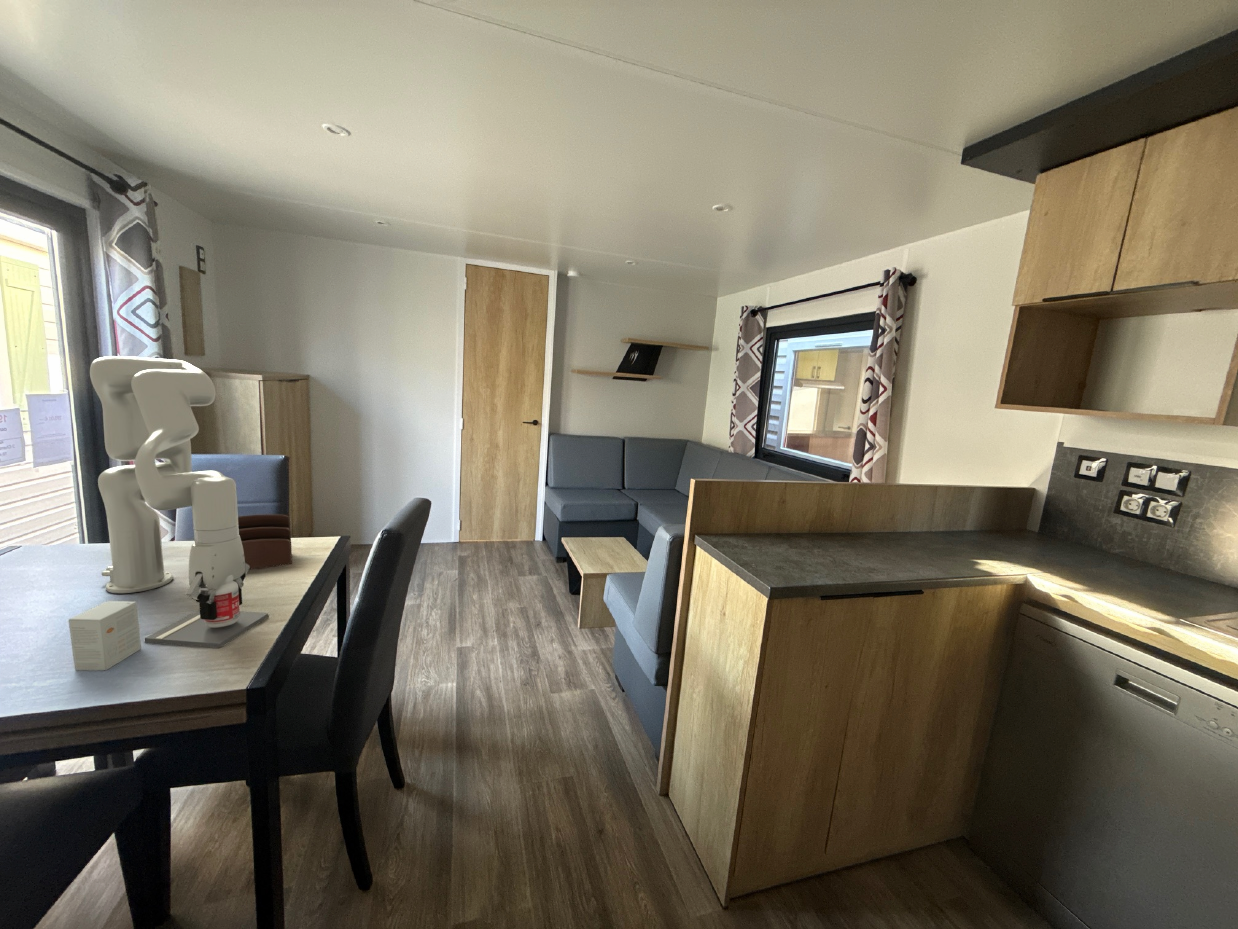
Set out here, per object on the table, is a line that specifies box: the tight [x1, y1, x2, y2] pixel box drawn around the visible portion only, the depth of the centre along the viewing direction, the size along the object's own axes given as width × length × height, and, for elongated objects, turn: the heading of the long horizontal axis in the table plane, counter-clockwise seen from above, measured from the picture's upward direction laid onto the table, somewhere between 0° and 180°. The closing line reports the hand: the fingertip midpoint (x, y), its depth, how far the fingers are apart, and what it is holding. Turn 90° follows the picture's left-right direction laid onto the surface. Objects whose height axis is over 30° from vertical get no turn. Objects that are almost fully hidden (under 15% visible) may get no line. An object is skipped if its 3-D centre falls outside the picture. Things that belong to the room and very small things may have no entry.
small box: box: [68, 600, 142, 671], centre depth 96 cm, size 8×6×10 cm
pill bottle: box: [205, 575, 241, 628], centre depth 109 cm, size 6×6×11 cm
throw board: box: [143, 609, 270, 649], centre depth 110 cm, size 16×14×1 cm
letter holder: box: [238, 513, 293, 571], centre depth 146 cm, size 10×20×14 cm, turn 124°
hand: (222, 611), depth 109 cm, fingers closed on pill bottle, 6 cm apart
